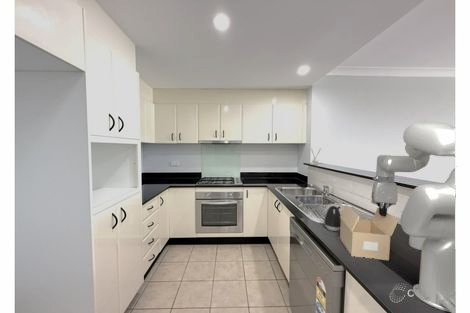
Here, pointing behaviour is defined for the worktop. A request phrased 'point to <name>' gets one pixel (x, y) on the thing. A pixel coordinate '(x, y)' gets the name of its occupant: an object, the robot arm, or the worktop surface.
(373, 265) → the worktop surface
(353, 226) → the left flap
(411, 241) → the milk bottle
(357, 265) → the worktop surface
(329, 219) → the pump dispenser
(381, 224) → the right flap
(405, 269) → the worktop surface
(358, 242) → the carton
